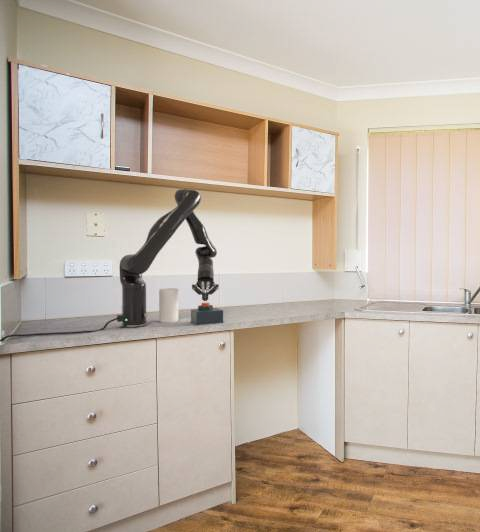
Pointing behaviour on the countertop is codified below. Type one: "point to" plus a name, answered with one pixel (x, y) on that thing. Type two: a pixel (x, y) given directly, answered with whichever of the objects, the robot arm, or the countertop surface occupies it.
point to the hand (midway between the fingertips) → (205, 300)
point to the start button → (205, 304)
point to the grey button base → (206, 315)
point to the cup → (168, 305)
